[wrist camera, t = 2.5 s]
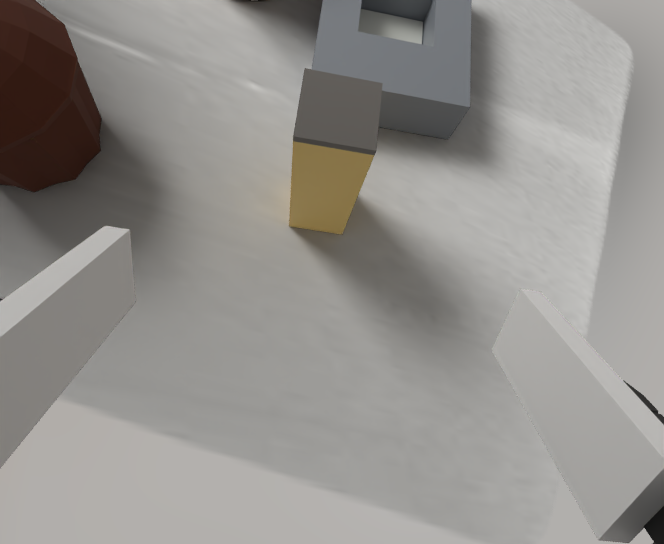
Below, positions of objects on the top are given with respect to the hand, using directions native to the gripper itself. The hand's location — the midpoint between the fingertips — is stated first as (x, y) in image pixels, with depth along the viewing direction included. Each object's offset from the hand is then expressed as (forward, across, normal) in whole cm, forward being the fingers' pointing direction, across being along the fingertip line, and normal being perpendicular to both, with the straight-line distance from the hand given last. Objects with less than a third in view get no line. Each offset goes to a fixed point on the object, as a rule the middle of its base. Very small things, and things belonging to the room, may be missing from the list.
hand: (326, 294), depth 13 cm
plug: (+17, 0, -3) cm, 17 cm away
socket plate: (+28, +4, +9) cm, 30 cm away
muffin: (+18, -21, -2) cm, 28 cm away
